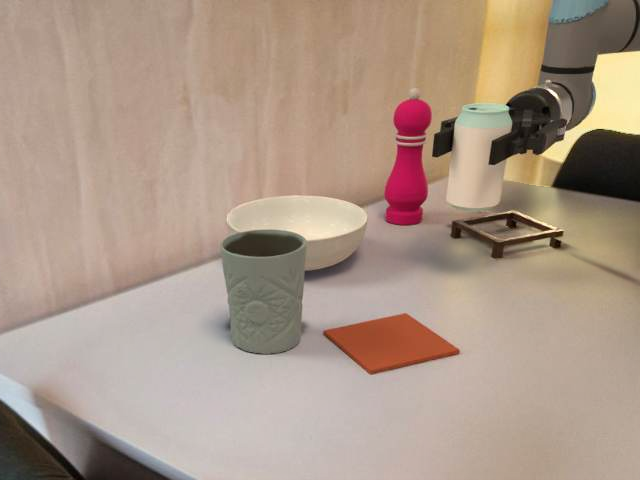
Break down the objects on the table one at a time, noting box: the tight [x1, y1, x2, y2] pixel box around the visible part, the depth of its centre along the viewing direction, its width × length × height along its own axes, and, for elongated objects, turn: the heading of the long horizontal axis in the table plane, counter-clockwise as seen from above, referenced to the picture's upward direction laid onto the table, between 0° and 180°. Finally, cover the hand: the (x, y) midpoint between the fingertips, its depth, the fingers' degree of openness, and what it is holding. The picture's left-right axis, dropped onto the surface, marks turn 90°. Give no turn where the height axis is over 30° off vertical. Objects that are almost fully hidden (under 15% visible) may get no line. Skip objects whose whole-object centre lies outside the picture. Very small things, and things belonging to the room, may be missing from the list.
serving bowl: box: [225, 195, 369, 272], centre depth 114 cm, size 21×21×7 cm
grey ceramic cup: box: [219, 229, 307, 355], centre depth 91 cm, size 10×10×12 cm
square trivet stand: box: [450, 209, 564, 259], centre depth 120 cm, size 12×12×2 cm
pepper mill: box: [383, 87, 433, 226], centre depth 125 cm, size 7×7×20 cm
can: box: [445, 102, 512, 213], centre depth 99 cm, size 7×7×12 cm
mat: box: [322, 312, 461, 375], centre depth 93 cm, size 12×12×1 cm
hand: (463, 149), depth 95 cm, fingers closed on can, 7 cm apart
